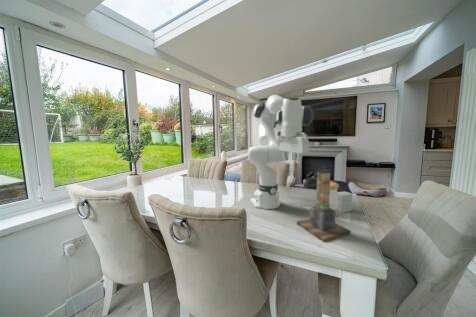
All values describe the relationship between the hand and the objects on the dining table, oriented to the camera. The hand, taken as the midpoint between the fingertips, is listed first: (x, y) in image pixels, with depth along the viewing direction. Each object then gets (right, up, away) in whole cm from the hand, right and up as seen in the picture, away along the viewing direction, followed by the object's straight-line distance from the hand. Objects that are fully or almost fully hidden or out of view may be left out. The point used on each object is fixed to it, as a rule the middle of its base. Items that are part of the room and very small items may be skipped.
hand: (291, 161), depth 96 cm
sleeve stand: (+15, -33, +1) cm, 36 cm away
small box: (+36, -29, +22) cm, 51 cm away
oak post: (+15, -25, 0) cm, 29 cm away
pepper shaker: (+27, -30, +18) cm, 44 cm away
